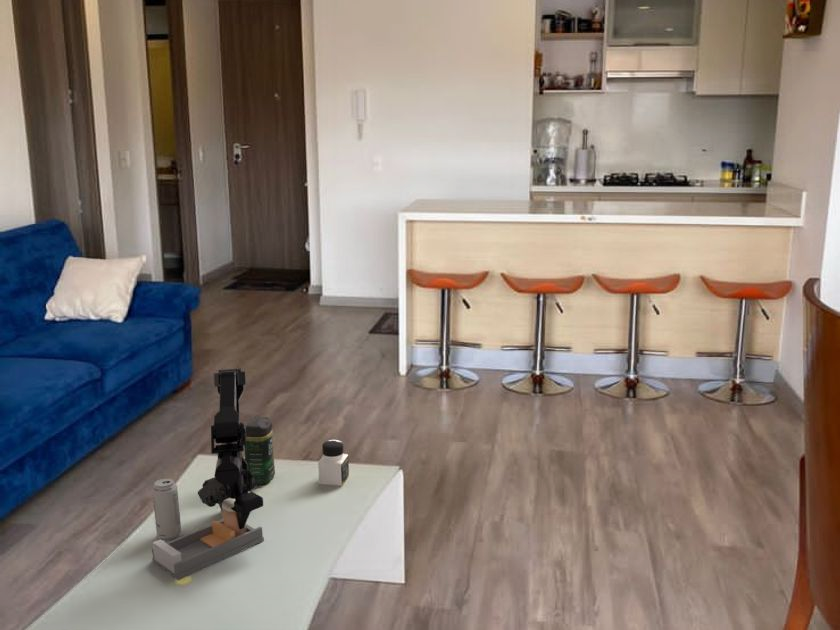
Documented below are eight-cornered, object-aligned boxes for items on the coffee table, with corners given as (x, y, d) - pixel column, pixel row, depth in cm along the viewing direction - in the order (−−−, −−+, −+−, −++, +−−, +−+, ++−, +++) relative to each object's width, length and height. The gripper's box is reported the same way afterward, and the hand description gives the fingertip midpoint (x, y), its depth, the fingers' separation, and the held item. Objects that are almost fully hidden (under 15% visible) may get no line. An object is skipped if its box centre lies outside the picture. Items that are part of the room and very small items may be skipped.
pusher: (200, 540, 199) (199, 526, 198) (216, 533, 203) (215, 519, 202) (218, 552, 193) (217, 538, 193) (235, 544, 197) (234, 530, 196)
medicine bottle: (342, 486, 231) (340, 447, 228) (318, 484, 232) (317, 446, 229) (349, 476, 238) (347, 438, 235) (326, 474, 239) (324, 436, 236)
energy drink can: (158, 531, 206) (153, 478, 203) (182, 529, 207) (177, 475, 204) (155, 543, 200) (150, 488, 197) (180, 540, 202) (175, 486, 198)
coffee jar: (269, 486, 231) (265, 426, 227) (242, 485, 232) (238, 425, 228) (278, 472, 241) (275, 414, 237) (253, 471, 242) (249, 413, 237)
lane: (152, 561, 192) (150, 540, 191) (237, 525, 209) (235, 506, 208) (178, 579, 184) (175, 558, 183) (263, 540, 201) (262, 520, 200)
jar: (238, 524, 205) (236, 495, 203) (251, 531, 202) (249, 501, 200) (219, 532, 201) (217, 502, 200) (232, 539, 198) (229, 509, 196)
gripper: (181, 467, 198) (186, 524, 202) (223, 489, 185) (227, 550, 189) (220, 453, 206) (224, 508, 209) (262, 474, 193) (266, 532, 197)
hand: (234, 524), depth 201 cm, fingers closed on jar, 6 cm apart
